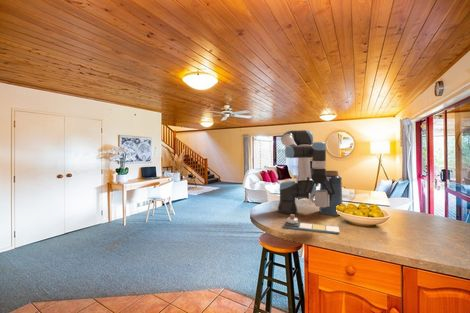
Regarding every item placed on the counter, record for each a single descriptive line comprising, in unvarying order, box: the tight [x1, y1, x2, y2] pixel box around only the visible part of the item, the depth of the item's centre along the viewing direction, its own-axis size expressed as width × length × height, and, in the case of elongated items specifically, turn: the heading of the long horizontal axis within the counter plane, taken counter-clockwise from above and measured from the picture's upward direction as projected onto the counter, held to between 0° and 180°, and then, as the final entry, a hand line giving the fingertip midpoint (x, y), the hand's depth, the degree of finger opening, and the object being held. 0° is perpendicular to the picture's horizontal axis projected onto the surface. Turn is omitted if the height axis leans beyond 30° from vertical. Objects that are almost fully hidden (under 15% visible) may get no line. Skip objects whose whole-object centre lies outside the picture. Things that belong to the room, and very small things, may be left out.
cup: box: [310, 189, 328, 208], centre depth 132 cm, size 7×10×9 cm
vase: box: [318, 170, 343, 217], centre depth 165 cm, size 16×16×32 cm
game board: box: [283, 220, 340, 235], centre depth 134 cm, size 11×31×2 cm, turn 69°
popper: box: [286, 214, 299, 224], centre depth 138 cm, size 6×6×4 cm
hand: (318, 205), depth 132 cm, fingers closed on cup, 10 cm apart
